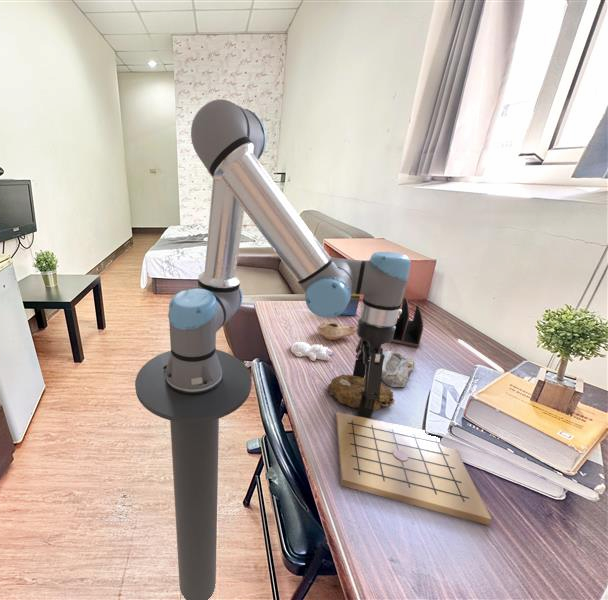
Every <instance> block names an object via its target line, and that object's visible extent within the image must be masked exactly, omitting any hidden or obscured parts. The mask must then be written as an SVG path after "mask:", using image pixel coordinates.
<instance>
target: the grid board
mask: <svg viewBox="0 0 608 600" xmlns="http://www.w3.org/2000/svg"><path fill="white" fill-rule="evenodd" d="M335 414H336V415H335V421H336V435H337V446H338V447H337V449H338V458H339V460H338V461H339V472H340V485H341V486H342V487H346V488H350V489H353V490H357V491H361V492H364V493H368V494H372V495H376V496H379V497H383V498H387V499H390V500H394V501H397V502H401V503H405V504H409V505H412V506H416V507H419V508H424V509H427V510H431V511H434V512H438V513H442V514H445V515H449V516H453V517H457V518H459V519H460V518H461V519H463V520H467V521H471V522H475V523H480V524H483V525H486V526H489V525H490V524H491V522H492V520H493V519H492V517H491V515H490V513H489V511H488V509H487V507H486V505H485V503H484V501H483V499H482V497H481V495H480V493H479V491H478V489H477V487H476V486H475V483H474V482H473V480H472V478H471V476H470V473H469V471H468V469H467V468H466V465H465V464H464V462H463V460H462V458H461V456H460V454H459V452H458V451H457V449H456V450H455V449H451V448H447V447H444V446H442V445H441V444H440V438H438V437H436V436H431V435H427V434H426V433H425V430H426V429H420V428H416V427H411V426H407V425H402V424H397V423H392V422H387V421H383V420H377V419H374V418H373V419H372V418H367V417H362V416H358V415H353V414H349V413H344V412H339V411H336V413H335Z"/></svg>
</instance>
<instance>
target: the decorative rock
mask: <svg viewBox="0 0 608 600" xmlns="http://www.w3.org/2000/svg"><path fill="white" fill-rule="evenodd" d="M364 384H365V377H364V378H362V377H359V376H353V375H352V374H341V375H339V376H336V377H334V378H332V379H331V383H329V384H328V385H327V387H328V389H327V391H328V392H329V396H332V397H334V398H335V399H337V401H338V403H340V404H342V405H347V406H348V407H350V408H355V409H356V408H357V409H359V405H360V400H361V396H362V394H360V392H361V391H364ZM394 396H395V395H394V392H393V391H392V390H391V389H390V388H389V387H388V386H387V385H384V384H382V383H381V387H380V398H379V400H376V399H375V403H374V407H373V411H375V410H379V409H381V407H392V405H395V404H394V403H395V398H394Z"/></svg>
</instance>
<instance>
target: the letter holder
mask: <svg viewBox="0 0 608 600" xmlns="http://www.w3.org/2000/svg"><path fill="white" fill-rule="evenodd" d="M409 305H410V304H409V301H408V298H407V297H406V296H405V297H403V300H402V304H401V307H400V310H402V314H399V315H398V319H397V323H396V324H395V326H396V328H395V332H394V337H393V340H392V341H391V342H390V343H395V344H399V345H404V346H409V347H414V348H419V347H420V344H421V338H422V335H423V331H424V320H423V314H422V310H421V307H420V306H419V305H416V306H415V309H414V310H415V311H414V314H413V319H412V320H410V307H409Z"/></svg>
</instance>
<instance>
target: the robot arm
mask: <svg viewBox="0 0 608 600" xmlns="http://www.w3.org/2000/svg"><path fill="white" fill-rule="evenodd" d="M190 138H191V139H190V140H191V144H192V147H193V150H194V151H195V154H196V155H197V156H198V158H199V160H200V161H201V163H202V164H203V166H204V167H205V169H206V171H207V173H208V174H209V175H210V177H211V178H212V185H211V197H210V205H209V206H210V207H209V218H208V228H207V239H206V240H207V241H206V251H205V262H204V264H205V265H204V271H202V272H201V273H200V274H199V275H198V279H197V288H189V289H188V290H182V291H178V292H177V293H176V294H175V295H173V296H172V297H171V299H170V301H169V304H168V313H167V317H168V321H169V340H170V342H169V343H170V351H171V355H170V358H169V361H168V364H167V365H166V366H164V367H163V368H164V369H166V371H165V380H166V383H167V385H168V386H169V387H170V388H171V389H172V390H174V391H175V392H178V393H181V394H185V395H200V394H205V393H208V392H210V391H212V390H214V389H215V388H217V387H218V386H219V384H220V383H221V381H222V369H221V365H220V363H219V360H218V357H217V354H216V349H217V333H218V331H219V330H220V329H222V328H223V327H224V326H225V325H226V323H228V322H229V321H230V320H231V319H233V318H234V317H235V316H236V315H237V314H238V312H239V310H240V309H241V306H242V303H243V292H242V289H241V288H240V286H241V279H240V278H239V277H238V276H237V274H236V273H237V266H238V258H239V253H240V246H241V245H240V243H241V237H242V229H243V223H244V214H245V213H246V215H247V216H248V217H249V218H250V220H251V222H252V223H253V224H254V226H255V227H256V228H257V229H258V231H259V232H260V234H261V235H262V236H263V238H264V239H265V240H266V242H267V243H268V244H269V245H270V247H271V248H272V250H273V251H274V252H275V254H276V255H277V256H278V257H279V259H280V261H282V263H283V264H284V265H285V267H286V268H287V270H288V271H289V272H290V274H291V275H292V276H293V278H294V279H295V280H296V283H298V284H299V286H300V287H301V289H302V290H303V292H304V293H305V300H304V301H305V304H306V306H307V309H308V310H309V311H310V312H311V313H312V314H314V315H315V316H317V317H320V318H323V319H329V318H330V319H331V318H335V317H337V316H340V315H339V314H341V313H342V312H343V311H344V310H345V309H346V307H347V305H348V303H349V302H350V299H351V293H352V294H360V296H361V295H362V300H361V306H360V310H359V319H358V321H357V327H356V335H357V336H358V337H359V340H358V343H357V346H356V348H355V354H356V355H355V358H356V359H355V362H354V367H353V372H352V376H359V377H362V378H365V384H364V391H361V392H360V394H362V396H361V400H360V405H359V408H357V416H359V417H364V418H369V419H372V416H373V415H372V414H373V411H374V410H373V407H374V403H375V399H376V400H379V398H380V387H381V384H382V378H381V377H382V367H383V361H384V358H385V356H384V354H383V351H384V348H383V347H382V345H385V344H390V343H392V342H391V341H392V340H393V337H394V332H395V328H396V326H395V324H396V323H397V319H399V315H400V314H402V310H401V308H402V304H403V300H404V296H405V291H406V289H407V284H408V281H409V275H410V269H411V263H412V260H411V259H410V257H409V256H407V254H403V253H399V252H393V251H376V252H374V253H372V254H371V256H370V258H369V260H359V259H350V258H349V259H348V258H342V257H333V256H329V254H328V252H327V251H326V250H325V248H324V246H322V245H321V243H320V242H319V241H318V239H317V238H316V236H315V235H314V234H313V232H312V231H311V229H309V227H308V225H307V224H306V223H305V221H304V220H303V219H302V218H301V216H300V215H299V213H298V212H297V210H296V209H295V208H294V207H293V205H292V204H291V203H290V201H289V200H288V199H287V197H286V196H285V194H284V193H283V192H282V190H281V189H280V187H279V186H278V184H276V182H275V181H274V179H272V177H271V176H270V174H269V172H268V171H267V170H266V169H265V167H264V166H263V164H262V163H261V162H260V161H259V160H260V158H261V157H262V156H263V153H264V152H265V149H266V145H267V132H266V129H265V125H264V123H263V122H262V121H261V119H260V118H259V117H258V116H257V115H256V114H255V113H254V112H253V111H252V110H249V109H248V108H244V107H242V106H239V105H238V104H236V103H234V102H232V101H230V100H227V99H221V98H220V99H213V100H211V101H208V102H206V103H205V104H203V105H202V106H201V107H200V108H199V109H198V111H196V113H195V115H194V117H193V119H192V123H191V127H190Z"/></svg>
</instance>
